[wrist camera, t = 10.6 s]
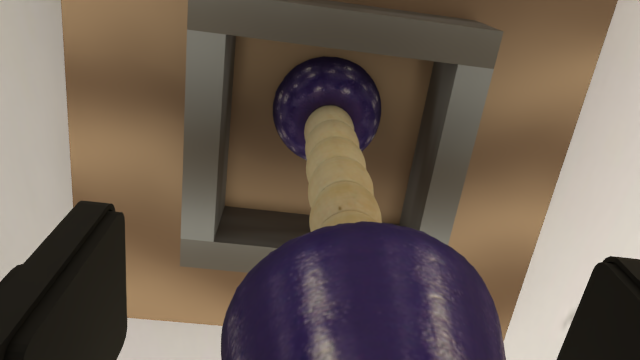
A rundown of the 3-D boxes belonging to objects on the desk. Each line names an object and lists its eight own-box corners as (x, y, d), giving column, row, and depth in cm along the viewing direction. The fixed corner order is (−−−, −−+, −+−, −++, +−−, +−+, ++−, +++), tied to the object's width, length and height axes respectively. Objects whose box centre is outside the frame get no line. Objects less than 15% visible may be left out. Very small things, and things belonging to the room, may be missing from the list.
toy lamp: (405, 139, 21) (674, 624, 6) (306, 193, 22) (315, 741, 7) (348, 34, 19) (517, 330, 4) (242, 96, 20) (61, 536, 5)
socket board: (68, -198, 18) (-4, -244, 14) (630, -109, 19) (720, -126, 15) (91, 293, 25) (50, 360, 21) (490, 329, 27) (524, 397, 23)
